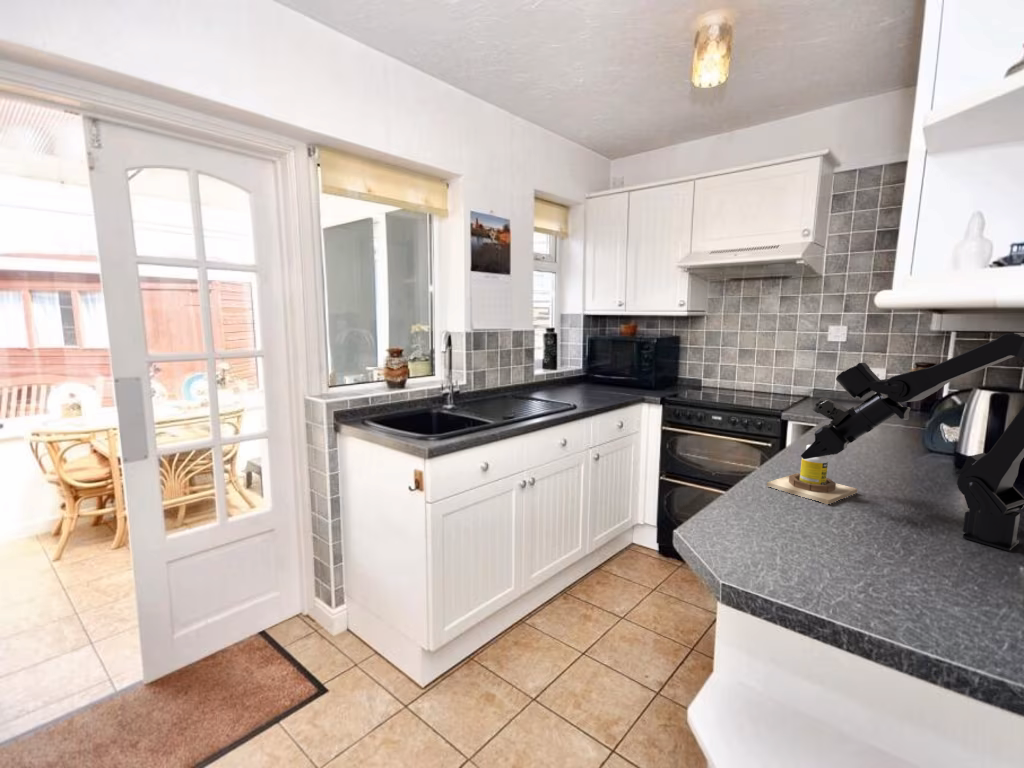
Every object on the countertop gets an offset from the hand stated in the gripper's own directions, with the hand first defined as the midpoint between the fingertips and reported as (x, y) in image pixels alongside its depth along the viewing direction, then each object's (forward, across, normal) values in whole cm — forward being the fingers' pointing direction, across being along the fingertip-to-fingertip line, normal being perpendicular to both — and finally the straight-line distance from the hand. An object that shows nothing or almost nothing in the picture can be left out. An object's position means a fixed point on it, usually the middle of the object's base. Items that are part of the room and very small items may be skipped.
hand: (807, 453), depth 118 cm
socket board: (+5, 0, +7) cm, 9 cm away
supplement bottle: (+4, 0, +7) cm, 8 cm away
